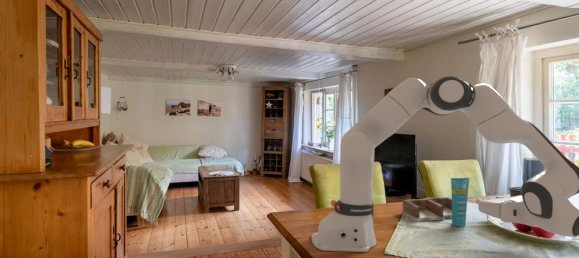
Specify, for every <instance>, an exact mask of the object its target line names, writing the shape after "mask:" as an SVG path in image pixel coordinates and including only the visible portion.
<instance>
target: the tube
mask: <svg viewBox="0 0 579 258" xmlns="http://www.w3.org/2000/svg"><path fill="white" fill-rule="evenodd" d="M450 184H451V186H450V187H451V199H452V218H451V224H452V226H456V227H462V228H463V227H466V223H467V221H466V220H467V210H468V209H467V205H468V195H469V185H470V177H459V178H458V177H451V178H450Z"/></svg>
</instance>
